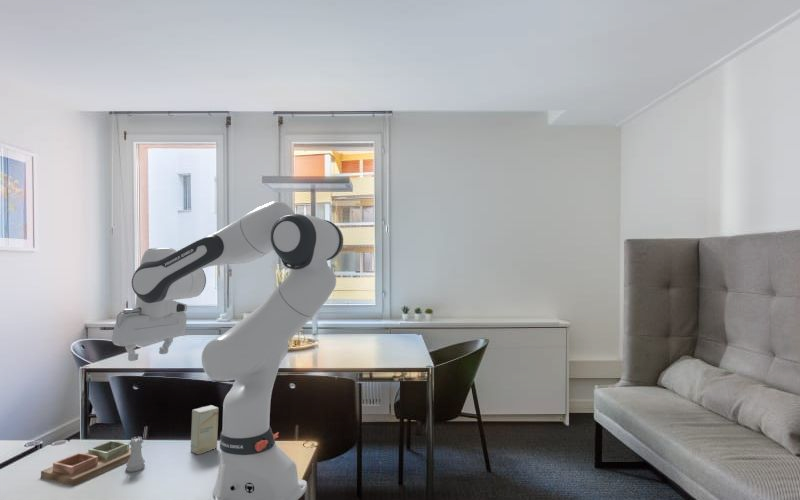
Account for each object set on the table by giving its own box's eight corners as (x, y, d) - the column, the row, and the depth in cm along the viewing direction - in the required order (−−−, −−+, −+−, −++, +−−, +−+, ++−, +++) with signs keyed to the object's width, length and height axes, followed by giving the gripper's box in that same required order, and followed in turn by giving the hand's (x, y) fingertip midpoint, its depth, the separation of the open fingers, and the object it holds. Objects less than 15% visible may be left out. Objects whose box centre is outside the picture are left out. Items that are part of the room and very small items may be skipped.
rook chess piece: (148, 465, 118) (149, 435, 118) (137, 473, 113) (138, 442, 114) (133, 464, 118) (134, 434, 118) (121, 472, 114) (122, 441, 114)
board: (138, 455, 123) (139, 443, 123) (73, 485, 106) (73, 471, 106) (108, 449, 127) (109, 437, 127) (40, 477, 110) (41, 463, 110)
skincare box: (197, 455, 124) (199, 412, 125) (189, 451, 127) (191, 409, 127) (218, 448, 129) (219, 407, 130) (210, 444, 132) (211, 404, 132)
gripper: (127, 311, 106) (121, 367, 106) (192, 305, 126) (187, 352, 126) (109, 308, 109) (103, 362, 108) (175, 302, 128) (170, 348, 128)
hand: (148, 356), depth 117 cm, fingers open, 8 cm apart
